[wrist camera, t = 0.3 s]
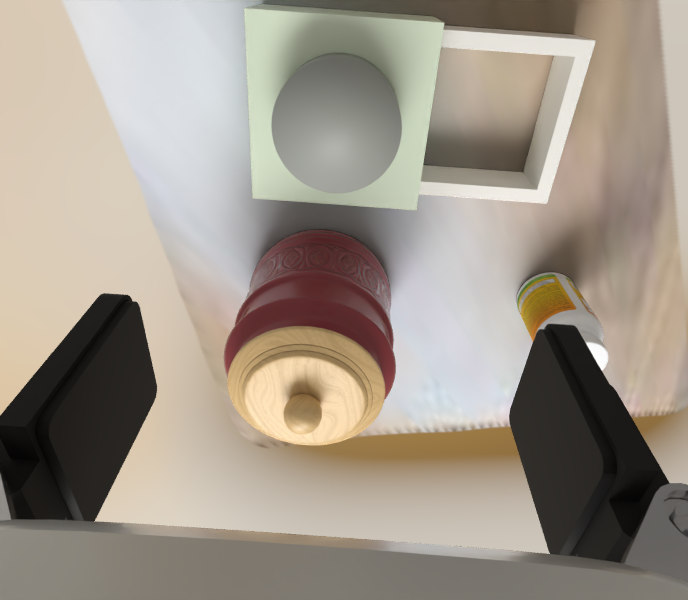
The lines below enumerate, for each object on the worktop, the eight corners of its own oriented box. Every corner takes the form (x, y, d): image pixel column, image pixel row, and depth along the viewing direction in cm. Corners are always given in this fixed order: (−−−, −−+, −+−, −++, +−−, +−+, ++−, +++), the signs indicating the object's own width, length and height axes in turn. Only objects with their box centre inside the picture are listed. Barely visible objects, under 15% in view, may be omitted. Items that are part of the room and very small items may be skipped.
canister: (375, 350, 51) (378, 501, 36) (250, 331, 50) (201, 477, 36) (403, 238, 44) (421, 369, 29) (258, 214, 43) (201, 336, 29)
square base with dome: (262, 4, 35) (232, 11, 27) (576, 26, 35) (634, 39, 27) (266, 171, 41) (243, 214, 34) (530, 190, 41) (566, 238, 34)
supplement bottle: (506, 312, 48) (534, 380, 40) (530, 264, 45) (565, 327, 37) (558, 323, 48) (596, 393, 40) (585, 277, 45) (632, 343, 37)
